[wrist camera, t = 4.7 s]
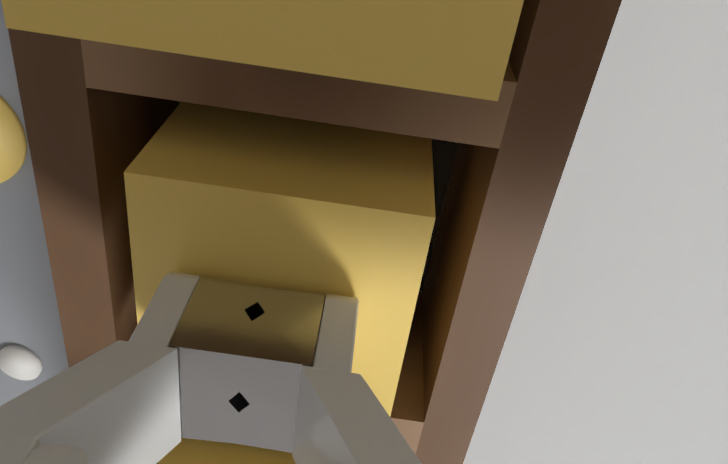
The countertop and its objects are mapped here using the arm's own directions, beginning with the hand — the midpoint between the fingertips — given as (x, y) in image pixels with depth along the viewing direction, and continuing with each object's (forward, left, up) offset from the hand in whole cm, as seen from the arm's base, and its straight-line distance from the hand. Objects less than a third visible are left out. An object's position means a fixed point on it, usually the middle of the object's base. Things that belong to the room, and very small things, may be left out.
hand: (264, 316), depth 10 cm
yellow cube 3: (0, 0, -4) cm, 4 cm away
